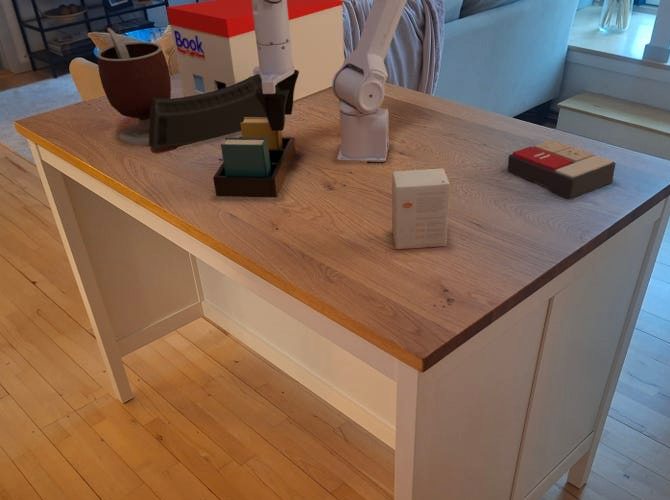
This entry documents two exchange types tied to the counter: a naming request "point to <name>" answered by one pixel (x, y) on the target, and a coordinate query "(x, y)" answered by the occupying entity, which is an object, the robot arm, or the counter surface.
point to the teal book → (246, 157)
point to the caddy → (258, 185)
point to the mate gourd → (134, 82)
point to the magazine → (203, 114)
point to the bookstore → (254, 43)
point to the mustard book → (261, 131)
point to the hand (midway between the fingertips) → (281, 121)
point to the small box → (420, 208)
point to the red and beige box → (562, 168)
